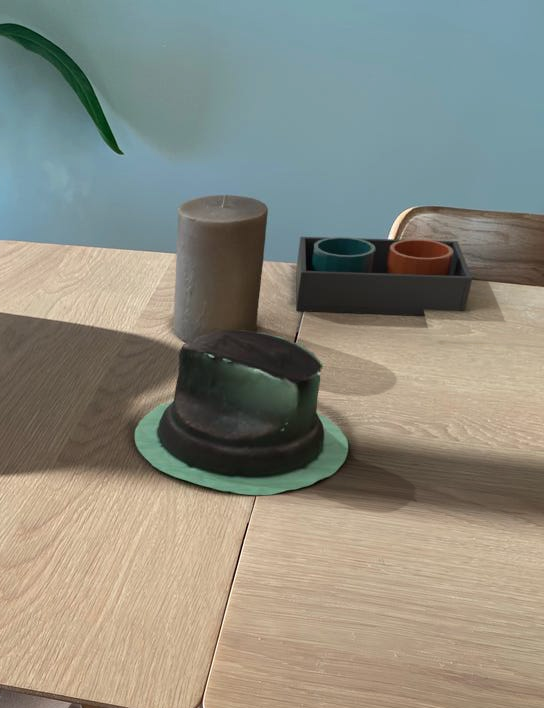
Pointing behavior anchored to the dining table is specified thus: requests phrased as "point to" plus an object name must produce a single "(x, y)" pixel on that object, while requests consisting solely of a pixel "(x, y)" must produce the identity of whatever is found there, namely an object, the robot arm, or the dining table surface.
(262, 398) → the dark hat
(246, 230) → the pillar candle
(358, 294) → the tub
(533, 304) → the dining table surface
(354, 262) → the teal cup
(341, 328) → the dining table surface
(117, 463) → the dining table surface
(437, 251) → the orange cup
